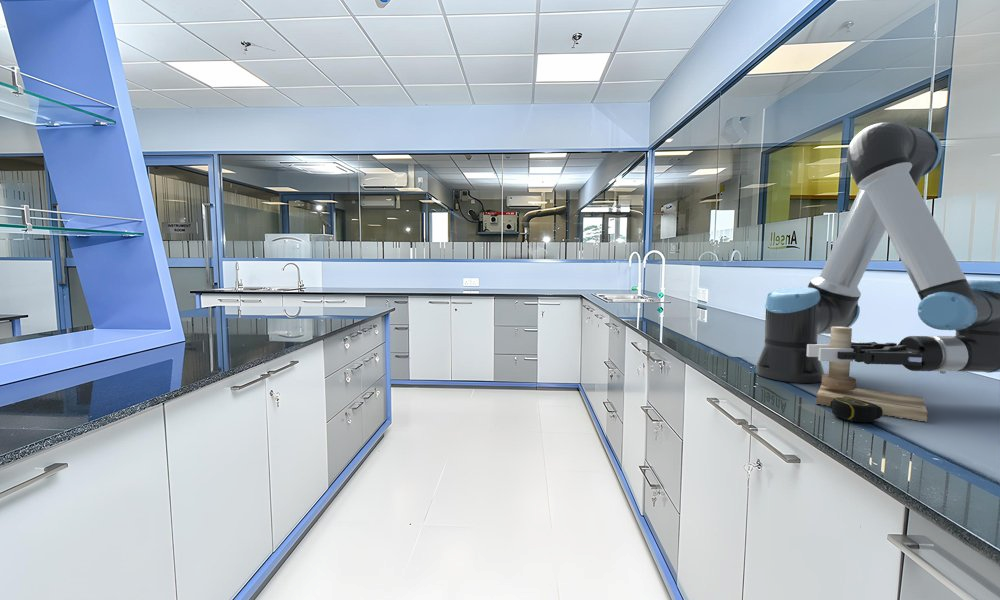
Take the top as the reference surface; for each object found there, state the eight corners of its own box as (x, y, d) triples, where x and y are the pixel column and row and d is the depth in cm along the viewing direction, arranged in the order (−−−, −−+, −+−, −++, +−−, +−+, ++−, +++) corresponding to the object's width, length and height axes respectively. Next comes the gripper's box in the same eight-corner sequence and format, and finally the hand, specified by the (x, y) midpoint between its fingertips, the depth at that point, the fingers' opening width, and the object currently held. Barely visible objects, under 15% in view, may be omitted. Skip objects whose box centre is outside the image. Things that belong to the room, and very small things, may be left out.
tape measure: (884, 423, 83) (885, 404, 82) (859, 427, 81) (860, 408, 80) (846, 412, 89) (847, 394, 89) (821, 415, 87) (822, 397, 87)
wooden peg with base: (822, 381, 101) (825, 325, 100) (856, 385, 97) (859, 327, 96) (819, 387, 96) (822, 328, 94) (855, 392, 92) (858, 331, 91)
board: (821, 391, 103) (821, 383, 103) (921, 406, 92) (922, 397, 92) (816, 404, 94) (816, 395, 93) (926, 422, 83) (927, 412, 82)
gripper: (965, 380, 86) (837, 379, 89) (897, 362, 103) (791, 360, 105) (968, 343, 86) (839, 342, 88) (899, 330, 102) (792, 329, 104)
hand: (813, 352), depth 96 cm, fingers closed on wooden peg with base, 4 cm apart
